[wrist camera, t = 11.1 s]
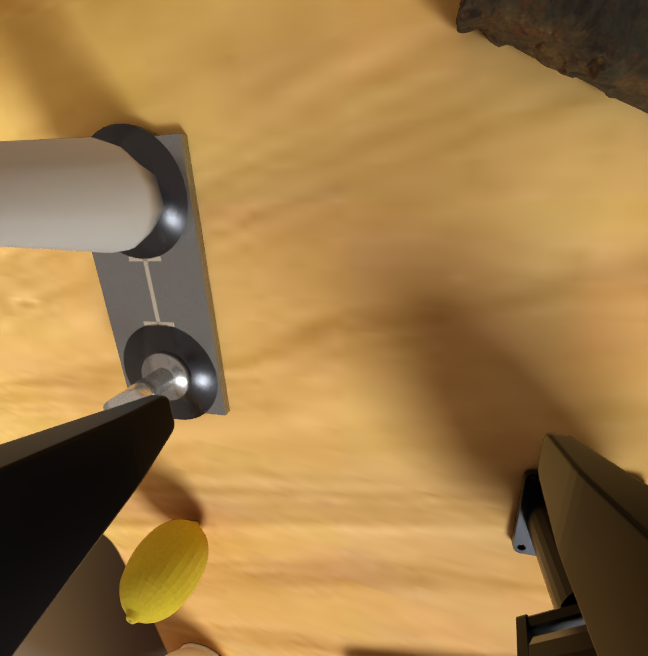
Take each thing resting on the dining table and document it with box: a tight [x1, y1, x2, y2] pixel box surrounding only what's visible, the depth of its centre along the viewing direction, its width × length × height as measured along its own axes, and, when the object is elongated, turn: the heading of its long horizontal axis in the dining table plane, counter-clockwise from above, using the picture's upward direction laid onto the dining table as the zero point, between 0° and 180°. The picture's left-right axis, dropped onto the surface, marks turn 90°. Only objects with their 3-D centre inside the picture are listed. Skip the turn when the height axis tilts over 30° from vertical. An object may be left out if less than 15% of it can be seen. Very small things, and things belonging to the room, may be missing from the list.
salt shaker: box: [0, 137, 165, 253], centre depth 15 cm, size 6×6×13 cm
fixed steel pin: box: [104, 351, 192, 410], centre depth 23 cm, size 4×4×5 cm
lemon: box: [119, 519, 208, 624], centre depth 28 cm, size 6×6×8 cm
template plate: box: [92, 124, 230, 420], centre depth 24 cm, size 20×8×1 cm, turn 3°
